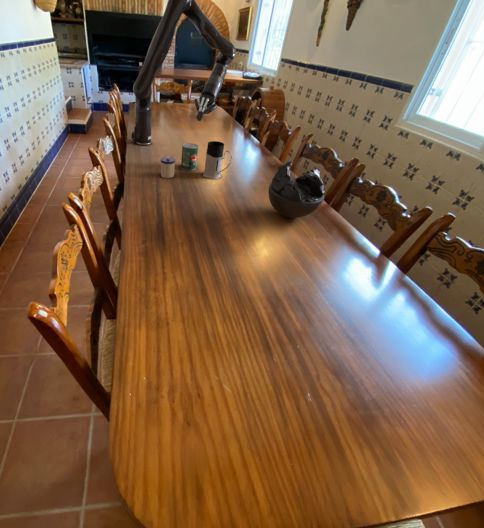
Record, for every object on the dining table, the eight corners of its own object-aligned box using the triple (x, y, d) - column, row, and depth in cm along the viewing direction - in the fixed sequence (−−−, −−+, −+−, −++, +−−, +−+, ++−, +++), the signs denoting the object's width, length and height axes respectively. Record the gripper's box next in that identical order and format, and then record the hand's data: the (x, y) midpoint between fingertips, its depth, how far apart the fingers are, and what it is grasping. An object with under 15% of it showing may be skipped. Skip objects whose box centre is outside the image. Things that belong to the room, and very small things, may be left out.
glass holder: (210, 170, 149) (214, 139, 140) (233, 179, 141) (239, 147, 132) (199, 174, 144) (202, 142, 135) (222, 184, 136) (227, 151, 127)
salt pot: (158, 177, 139) (159, 157, 134) (162, 171, 144) (162, 152, 139) (173, 178, 138) (174, 159, 133) (175, 173, 144) (176, 154, 138)
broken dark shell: (324, 228, 110) (345, 179, 98) (272, 227, 108) (287, 178, 97) (302, 203, 126) (318, 158, 114) (256, 202, 124) (267, 157, 112)
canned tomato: (181, 164, 154) (182, 142, 147) (196, 165, 154) (198, 143, 147) (180, 170, 148) (181, 147, 141) (196, 171, 147) (198, 148, 140)
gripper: (199, 79, 147) (184, 113, 148) (222, 84, 142) (207, 119, 143) (203, 89, 154) (189, 121, 155) (226, 94, 149) (211, 127, 150)
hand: (198, 120), depth 149 cm, fingers closed
